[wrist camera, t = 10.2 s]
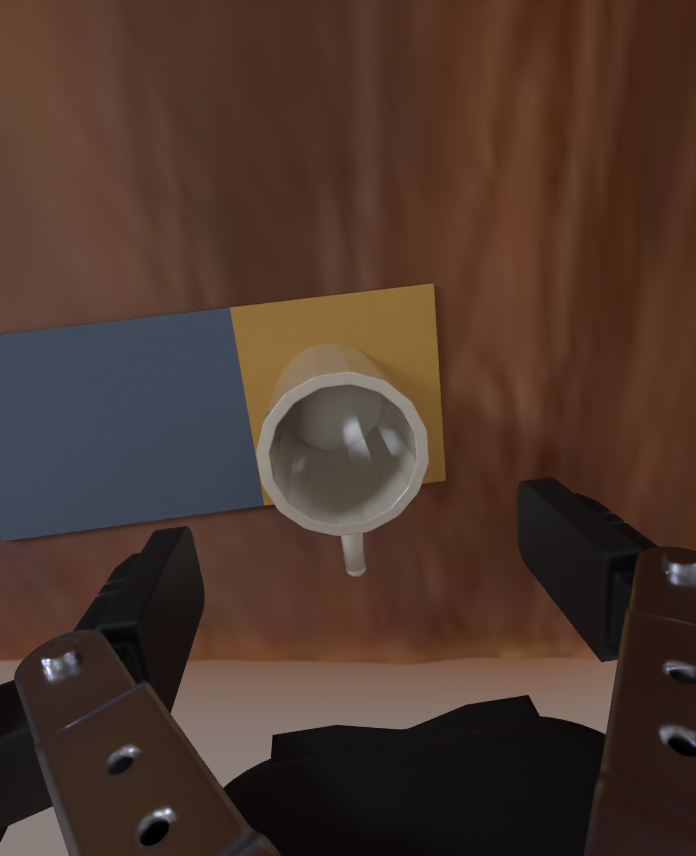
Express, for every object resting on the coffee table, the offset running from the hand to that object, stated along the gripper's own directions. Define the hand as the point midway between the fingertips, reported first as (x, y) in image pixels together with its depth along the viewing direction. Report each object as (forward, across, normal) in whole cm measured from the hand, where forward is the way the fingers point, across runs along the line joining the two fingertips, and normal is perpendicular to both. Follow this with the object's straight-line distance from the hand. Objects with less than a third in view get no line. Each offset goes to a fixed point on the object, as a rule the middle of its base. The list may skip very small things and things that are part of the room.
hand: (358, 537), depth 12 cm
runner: (+15, +6, 0) cm, 17 cm away
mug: (+15, 0, +2) cm, 15 cm away
